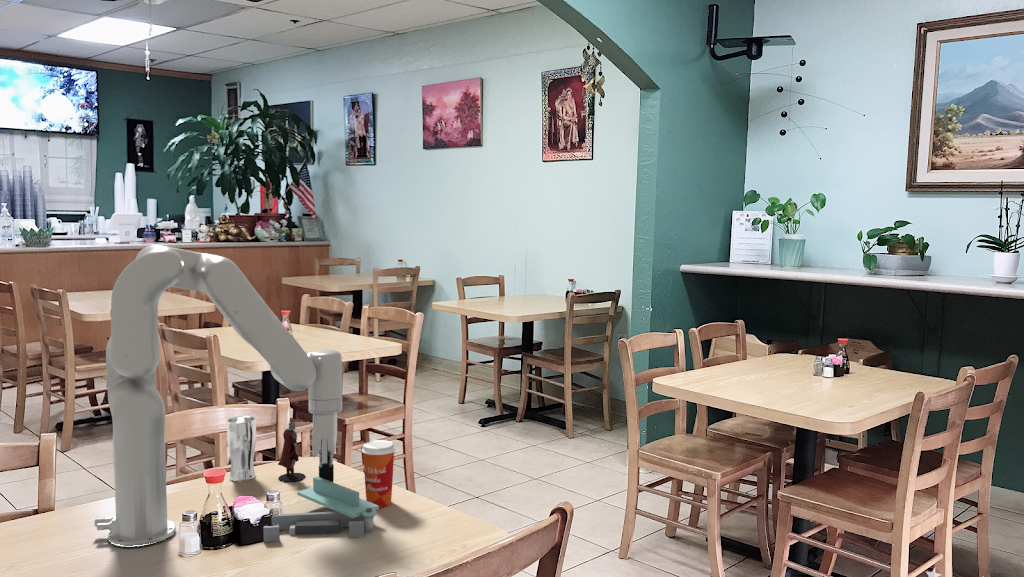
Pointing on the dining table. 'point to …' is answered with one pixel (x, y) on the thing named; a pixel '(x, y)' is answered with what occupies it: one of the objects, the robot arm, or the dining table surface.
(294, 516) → the grey frame
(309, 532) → the usb flash drive
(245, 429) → the beer glass
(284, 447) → the figurine
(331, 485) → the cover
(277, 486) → the dining table surface
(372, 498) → the paper cup
